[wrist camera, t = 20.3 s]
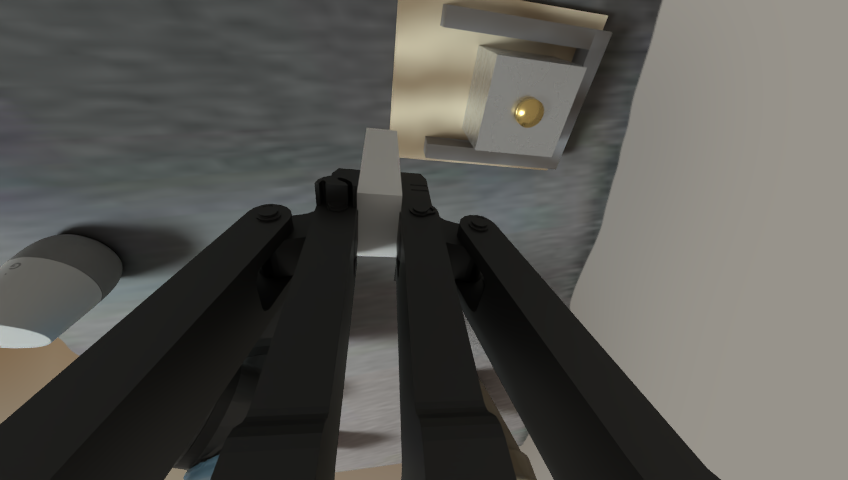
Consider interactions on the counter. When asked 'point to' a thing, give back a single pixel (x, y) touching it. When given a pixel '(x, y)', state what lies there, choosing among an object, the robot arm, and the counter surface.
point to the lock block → (519, 101)
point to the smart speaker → (53, 288)
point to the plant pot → (510, 443)
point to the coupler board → (454, 63)
